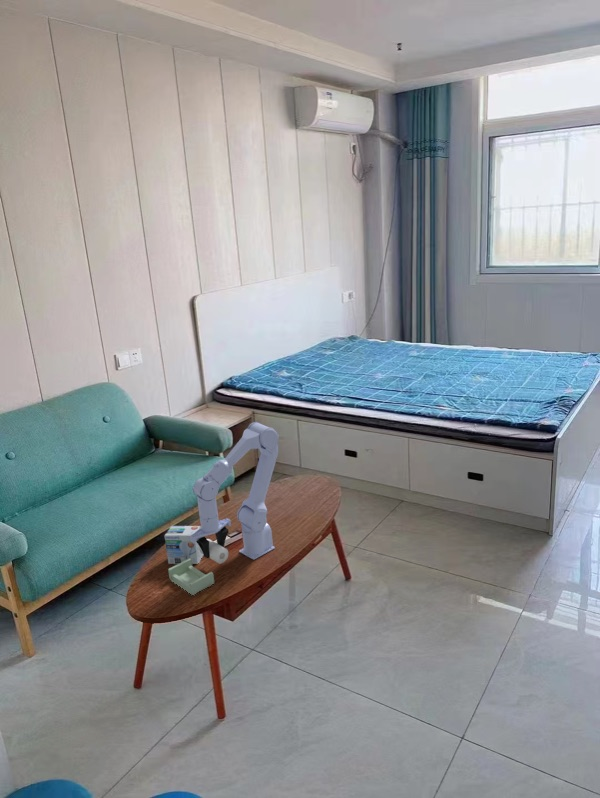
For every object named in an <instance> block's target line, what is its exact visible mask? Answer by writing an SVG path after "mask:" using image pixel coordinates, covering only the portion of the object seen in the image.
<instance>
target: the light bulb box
mask: <svg viewBox="0 0 600 798" xmlns="http://www.w3.org/2000/svg"><path fill="white" fill-rule="evenodd" d="M200 528H201V525H171V526H170V527H169V529H168V530H167V532H166V533H165V534H164V541H165V549H166V555H167V563H168V565H177V564H179V563H181V562H183V561H185V560H187V559H189V558H190V559H191V561H192V565H193V564H198V563H199V564H200V562H201V560H202V559H203V557H204V554H202V553H201V552H200V550H199V547H200V546H199V545H198V543H197V542H196V543H192V542H191V541H190V536H191V535H192V534H194V533H195V532H196V531H198V530H199V529H200ZM201 558H202V559H201ZM199 564H198V565H199Z"/></svg>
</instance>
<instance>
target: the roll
mask: <svg viewBox="0 0 600 798" xmlns="http://www.w3.org/2000/svg"><path fill="white" fill-rule="evenodd" d="M206 539H207V540H208V541H210V542H209V554H210V558H209V559H210V560H212V561H214V562H215V563H216V564H223V563H225V562H226V561H227V559H228V558H229V550H228V548H225V546H224V547H222V546H220V545H219V544H217V542H215V541H213V540H212V539H210V538H206ZM199 550H200V552H201V553H202V554H203V552H202V550H201V548H200V547H199Z"/></svg>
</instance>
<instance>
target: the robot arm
mask: <svg viewBox="0 0 600 798" xmlns="http://www.w3.org/2000/svg"><path fill="white" fill-rule="evenodd" d="M279 439H280V435H279V433H278V432H277V431H276V430H275V429H274V428H273V427H269V426H266V425H264V424H262V423H260V422H258V421H253V422H251V423H249V425H248V426H247V428H245V430H243V433H242V437H240V439H239V441H237V443H236V444H235V445H234V447H233V448H232V449H231V450H230V451H229V453H227V455H226V456H225V458H224V459H219V460H217V461H215V462H214V463H212V467H211V468H210V469H209V470H208V472H206V473H205V474H203V476H202V477H200V478H198V479H197V480H196V481H195V482H194V484H193V488H192V489H191V490H192V492H193V494H194V495H196V500H197V501H196V502H197V508H198V514H199V521H200V522H199V523H200V527H201V528H200V529H199V530H198V531H196V532H195V533H194V534H192V535H191V536H190V541H191V542H192V543H196V542H197V543H198V545H199V546H200V548H201V550H202V552H203V554H204V555H203V557H205V558H206V559H210V554H209V542H210V541H208V540H207V539H208V538H207V536H210V535H214V534H215V538H216V543H217V544H219V545H220V546H222V547H224V548H225V543H226V538H227V536H228V534H229V529H228V528H227V527H230V526H232V520H231V519H230V518H227V517H226V518H223V519H220V520H219V512H218V505H217V504H218V503H217V498H216V497H217V496H218V494H219V489H220V488H221V485H222V484H223V483H224V482H225V481H226V480H227V479H228V477H229V476H231V474H232V473H233V467H234V466H235V464H237V463H238V461H240V460H241V459H242V458H243V457H244V456H245V455H246V454H247V453H248V452H249V451H250V450H257V449H258V450H259V452H260V456H259V458H258V462H257V466H256V470H255V473H254V477H253V481H252V483H251V487H250V490H249V491H250V492H249V494H248V497H247V498H246V499H244V500H243V501H242V504H241V505H240V508H238V510H237V513H236V518H237V520H238V522H240V524H241V531H242V539H243V540H242V541H243V548H241V549H238V550H239V551H238V552H239V553H240V554H242V555H245V556H246V557H247V558H250V559H252V560H256V559H258V558H259V557H261V556H264V555H265V554H267V553H269V552H271V551H272V550H274V549H275V548H276V547H275V545H274V543H273V531H272V528H271V526H270V524H269V523H268V520H267V514H268V509H267V506H266V504H265V501H266V498H267V494H268V490H269V488H270V483H271V479H272V476H273V473H274V469H275V465H276V462H277V459H278V455H279V452H280V451H279Z"/></svg>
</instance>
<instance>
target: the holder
mask: <svg viewBox="0 0 600 798" xmlns="http://www.w3.org/2000/svg"><path fill="white" fill-rule="evenodd" d="M167 570H168V577H169V581H170V580H171V581H170V582H172V583H173V582H174V583H173V584H175V585H176V584H177V585H178V587H179V586H180V587H181V588H180V587H179V588H180V589H182V588H183V589H184V590H183V589H182V590H183V591H185V590H186V591H187V592H188V594H189V593H190V594H191V595H190V594H189V595H190V596H192V595H194V594H196V593H197V592H199V591H201V590H203V589H205V588H207V587H208V586H210V585H212V584H214V585H215V578H214V577H215V575H214V572H212V571H210V572H208V573H206V574H205V573H204V572H202V571H201V570H199V569H198V568H196V567H195V566H193V564H192V561H191V559H190V558H189V559H187V560H185V561H183V562H181V563H179V564H174V566H172V567H169V568H168V569H167ZM177 585H176V586H177ZM212 586H213V585H212ZM207 589H208V588H207ZM205 590H206V589H205ZM186 591H185V592H186ZM203 591H204V590H203ZM187 592H186V593H187ZM201 592H202V591H201ZM196 595H197V594H196ZM194 596H195V595H194Z"/></svg>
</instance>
